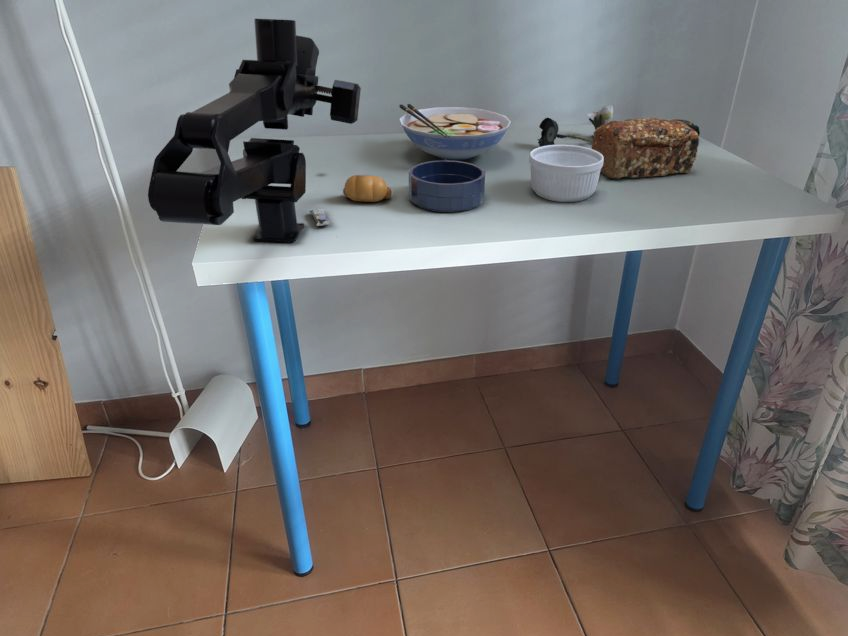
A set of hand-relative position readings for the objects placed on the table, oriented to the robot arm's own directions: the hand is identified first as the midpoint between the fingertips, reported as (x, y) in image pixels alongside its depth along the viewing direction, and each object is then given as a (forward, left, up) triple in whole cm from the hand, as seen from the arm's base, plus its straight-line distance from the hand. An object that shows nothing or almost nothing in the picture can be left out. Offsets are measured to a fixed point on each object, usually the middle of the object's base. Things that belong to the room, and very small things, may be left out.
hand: (317, 92), depth 117 cm
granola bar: (-19, -3, -16) cm, 25 cm away
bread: (+14, -61, -16) cm, 65 cm away
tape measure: (+38, -75, -16) cm, 85 cm away
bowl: (-7, -23, -16) cm, 29 cm away
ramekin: (-1, -44, -16) cm, 47 cm away
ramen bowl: (+19, -23, -16) cm, 34 cm away
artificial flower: (+33, -51, -16) cm, 63 cm away
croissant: (-9, -9, -16) cm, 21 cm away
